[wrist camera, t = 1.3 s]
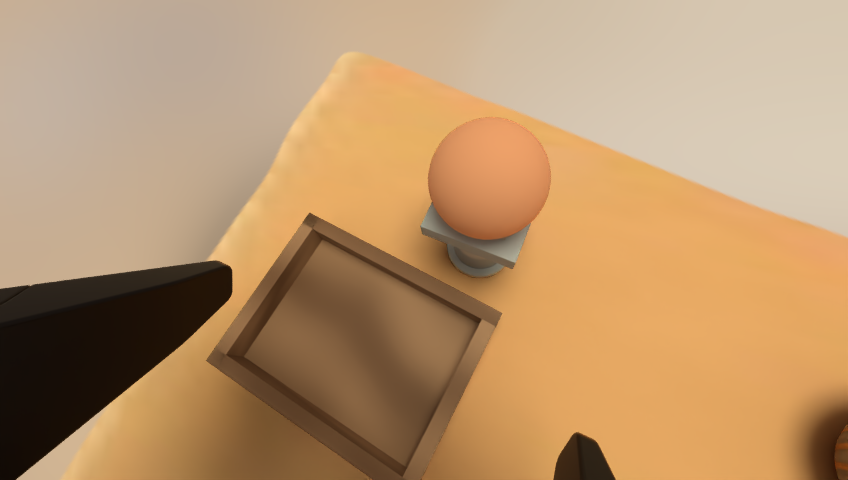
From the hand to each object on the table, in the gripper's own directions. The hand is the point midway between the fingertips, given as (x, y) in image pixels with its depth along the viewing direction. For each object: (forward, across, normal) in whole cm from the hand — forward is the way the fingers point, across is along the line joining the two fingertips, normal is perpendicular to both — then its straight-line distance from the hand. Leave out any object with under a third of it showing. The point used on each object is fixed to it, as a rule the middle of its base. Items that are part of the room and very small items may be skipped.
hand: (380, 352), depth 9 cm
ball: (+9, 0, -2) cm, 9 cm away
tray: (+9, +4, +10) cm, 14 cm away
